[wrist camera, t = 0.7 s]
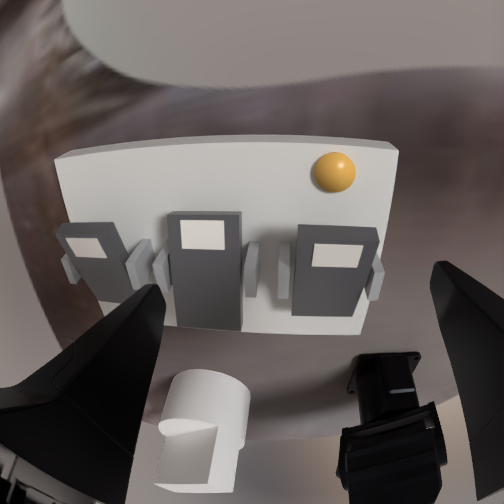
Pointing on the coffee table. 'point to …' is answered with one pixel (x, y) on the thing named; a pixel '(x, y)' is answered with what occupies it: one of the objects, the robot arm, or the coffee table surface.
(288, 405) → the coffee table surface
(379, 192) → the switch panel
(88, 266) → the switch
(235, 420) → the cylinder with rectangular tab
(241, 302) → the switch
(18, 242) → the coffee table surface
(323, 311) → the switch
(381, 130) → the coffee table surface
